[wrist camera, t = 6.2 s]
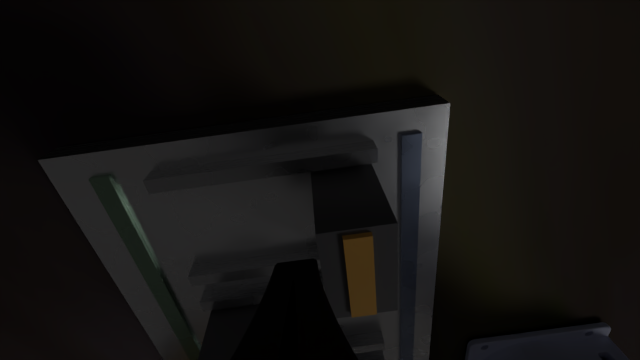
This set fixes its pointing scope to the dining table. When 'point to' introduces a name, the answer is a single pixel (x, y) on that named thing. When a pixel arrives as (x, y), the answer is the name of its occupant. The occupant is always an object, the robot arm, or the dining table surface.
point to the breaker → (225, 332)
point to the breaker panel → (256, 214)
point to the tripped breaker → (355, 241)
